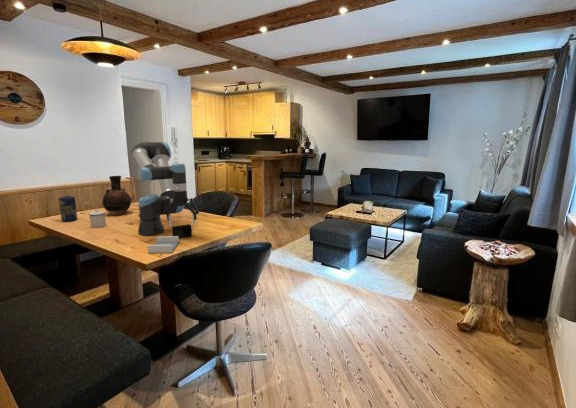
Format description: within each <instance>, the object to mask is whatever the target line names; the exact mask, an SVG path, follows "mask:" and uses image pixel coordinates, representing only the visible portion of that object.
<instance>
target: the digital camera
mask: <svg viewBox="0 0 576 408" xmlns="http://www.w3.org/2000/svg"><path fill="white" fill-rule="evenodd" d="M171 229H172V236H179V240H180V239H185V238H191V237H193V234H192V233H193V232H192V230H193V229H192V225H191V224H190V223H189V224H182V225H180V224H179V225H174V226H173V225H172V226H171Z"/></svg>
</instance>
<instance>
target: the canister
mask: <svg viewBox="0 0 576 408" xmlns="http://www.w3.org/2000/svg"><path fill="white" fill-rule="evenodd" d="M58 204H59V210H60V218H61V221H62V222H72V221H76V220H77V219H78V212H77V206H76V205H77V203H76V197H75V196H71V195H65V196H60V197H59V198H58Z"/></svg>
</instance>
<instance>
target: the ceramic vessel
mask: <svg viewBox="0 0 576 408" xmlns="http://www.w3.org/2000/svg"><path fill="white" fill-rule="evenodd" d="M108 178H109V181H110V187H111V188H110V189H108V188H107V189H105V194H104V196H103V198H102V206H103V208H104V209H105V210H106V212H107V213H109V214H110V215H114V216H118V215H119V216H120V215H123V214H125V213H127V211H128V210H129V209H130V208H131V204H132V197H131V195H129V193H128V192H127V191H126V189H125V187H124V188H122V185H121V179H122V175H110V176H109V177H108Z"/></svg>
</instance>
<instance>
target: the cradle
mask: <svg viewBox="0 0 576 408" xmlns="http://www.w3.org/2000/svg"><path fill="white" fill-rule="evenodd" d="M179 243H180V239H179V236H173V235H172V236H171V235H170V236H164V235H163V236H160V235H159V236H156V237H155V243H154V244H148V245H147V247H146V248H147V254H171V253H173V252H174V250H175V249H176V248H177V247H178V245H179Z"/></svg>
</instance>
